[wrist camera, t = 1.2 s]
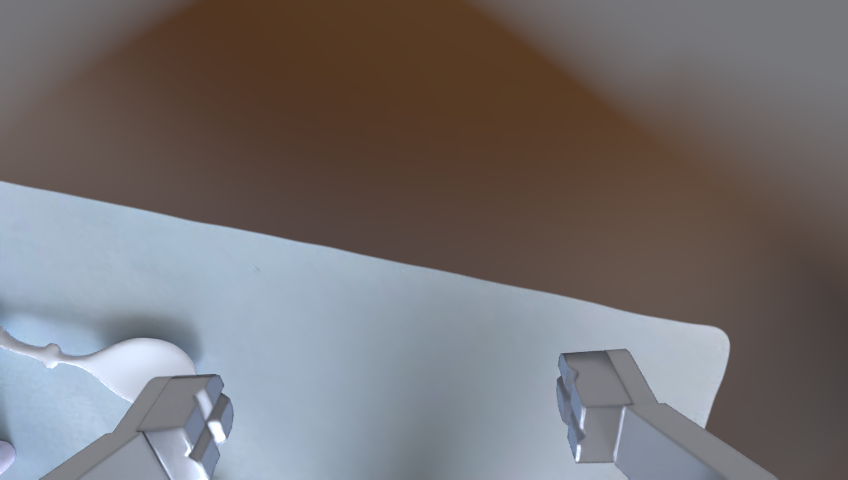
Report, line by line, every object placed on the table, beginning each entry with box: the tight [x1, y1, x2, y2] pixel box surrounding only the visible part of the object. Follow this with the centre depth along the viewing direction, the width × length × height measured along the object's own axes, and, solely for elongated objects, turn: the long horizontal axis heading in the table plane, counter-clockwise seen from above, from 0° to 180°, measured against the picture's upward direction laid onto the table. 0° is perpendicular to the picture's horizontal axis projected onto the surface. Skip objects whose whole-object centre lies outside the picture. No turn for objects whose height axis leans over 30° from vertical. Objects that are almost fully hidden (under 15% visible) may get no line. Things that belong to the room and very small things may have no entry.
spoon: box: [0, 324, 197, 403], centre depth 56 cm, size 9×32×4 cm, turn 74°
